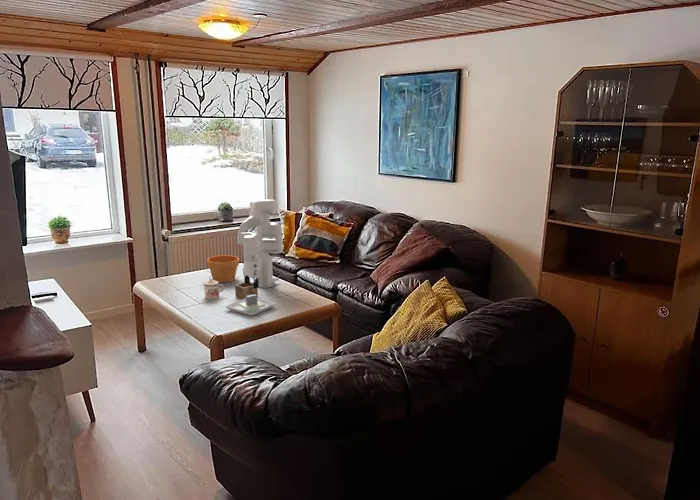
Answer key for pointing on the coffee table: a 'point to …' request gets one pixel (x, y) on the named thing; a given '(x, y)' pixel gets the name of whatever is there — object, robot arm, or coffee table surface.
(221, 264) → the flower pot
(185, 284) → the coffee table surface
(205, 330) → the coffee table surface
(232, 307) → the salad plate
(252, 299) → the lid
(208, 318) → the coffee table surface
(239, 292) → the crate
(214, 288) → the teacup with lid
